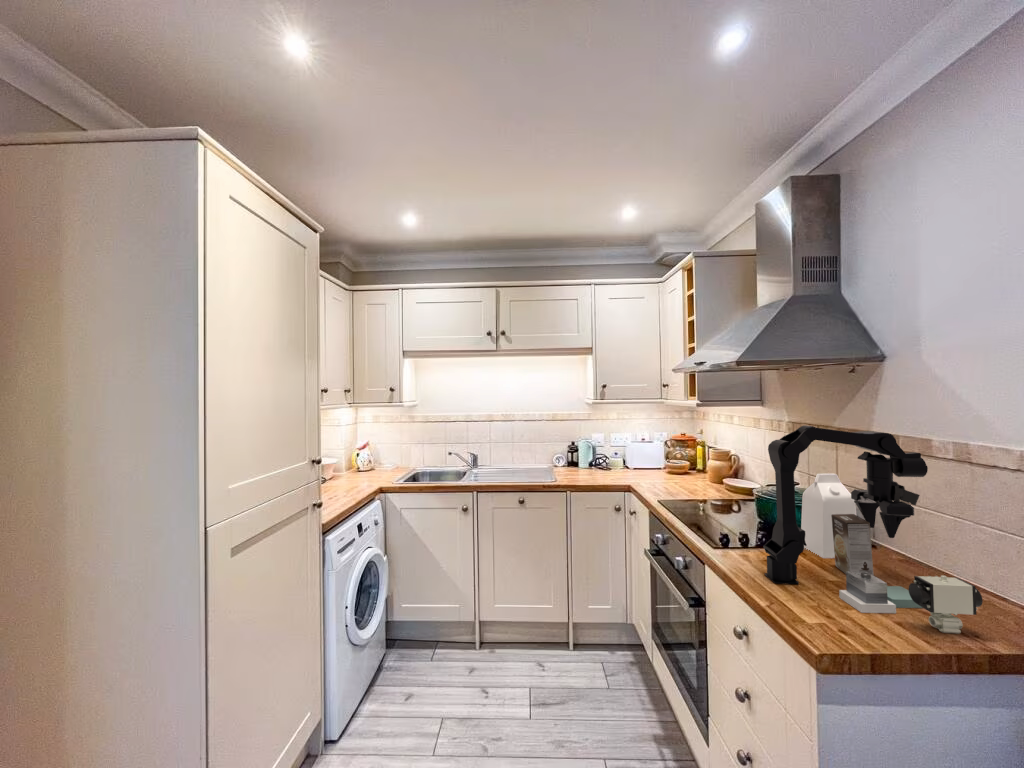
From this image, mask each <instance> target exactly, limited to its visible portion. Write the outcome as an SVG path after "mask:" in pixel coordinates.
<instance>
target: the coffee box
mask: <svg viewBox="0 0 1024 768" xmlns="http://www.w3.org/2000/svg"><path fill="white" fill-rule="evenodd" d="M832 528H833V541H834V553H835V558H834V563H835V567H837V569H839V570H840V571H841V572H843V573H844V574H845V575H846V571H850V572H868V573H869V574H871V575H873V576H875V575H874V565H873V564H874V561H873V551H872V549H873V547H872V538H871V528H870V522H867V521H866V520H865V519H864V518H863V517H860V516H858V515H857V516H856V515H855V514H832Z"/></svg>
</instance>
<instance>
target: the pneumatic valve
mask: <svg viewBox="0 0 1024 768" xmlns="http://www.w3.org/2000/svg"><path fill="white" fill-rule="evenodd" d="M908 590H909V594H910V597H911V599H912V600H913V601H914V602H915V603H916V604H918V605H919V606H921V607H923V608H922V609H924V610H926V611H927V612H930V613H929V614H930V615H929V617H928V623H929V624H930V626H932V627H933V628H935V629H938V631H939V632H941V633H943V634H957V635H959V634H961V633H962V631H961V629H962V628H963V627H964V625H963V622H962V620H961V618H959V617H957V616H958V615H971V616H972V615H973V616H977V610H978V608H980V607H981V606H982V605H983V602H984V601H983V596H982V594H981V592H980V590H979V589H978V588H977V587H976V586H975V585H973V584H971V583H969V582H968V581H965V580H963V579H961V578H959V577H951V576H950V577H949V576H946V575H940V576H938V575H935V576H931V575H927V576H925V575H924V576H923V575H922V576H919V575H914V580H913V582H911V583H910V584H908Z"/></svg>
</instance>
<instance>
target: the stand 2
mask: <svg viewBox="0 0 1024 768" xmlns="http://www.w3.org/2000/svg"><path fill="white" fill-rule="evenodd" d="M887 596H888V601H890V602H892V603H893V604H895V605H896V609H898V608H899V609H901V608H902V609H905V608H906V609H924V608H923V607H921V606H919V605H918V604H916V603H915V602H914V601H913V600H912V599H911V597H910V594H909V589H907V588H905V587H904V586H901V585H887Z"/></svg>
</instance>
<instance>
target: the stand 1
mask: <svg viewBox="0 0 1024 768" xmlns="http://www.w3.org/2000/svg"><path fill="white" fill-rule="evenodd" d="M838 593H839V594H838V595H839V599H841V600H842V601H843V602H845V603H847V604H848V605H850V606H851V607H853V608H854V609H855V610H856V611H859V613H866V614H897V608H896V605H895V604H893V603H892V602H890V601H888V604H867V603H865V602H863V601H862V600H860V599H858V598H857V597H855V596H854V595H852V594H851V593H849V592H847V589H839V591H838Z"/></svg>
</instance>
